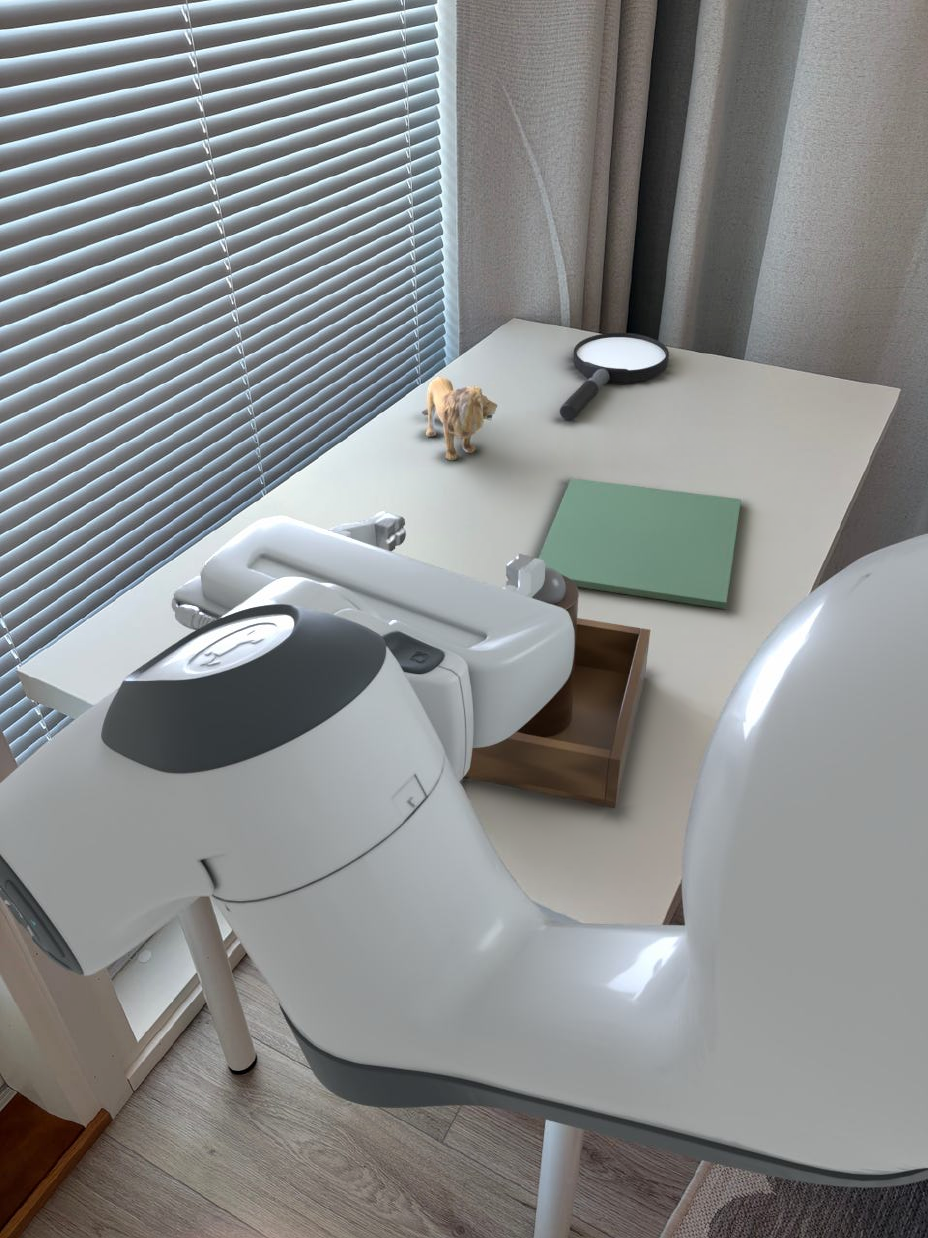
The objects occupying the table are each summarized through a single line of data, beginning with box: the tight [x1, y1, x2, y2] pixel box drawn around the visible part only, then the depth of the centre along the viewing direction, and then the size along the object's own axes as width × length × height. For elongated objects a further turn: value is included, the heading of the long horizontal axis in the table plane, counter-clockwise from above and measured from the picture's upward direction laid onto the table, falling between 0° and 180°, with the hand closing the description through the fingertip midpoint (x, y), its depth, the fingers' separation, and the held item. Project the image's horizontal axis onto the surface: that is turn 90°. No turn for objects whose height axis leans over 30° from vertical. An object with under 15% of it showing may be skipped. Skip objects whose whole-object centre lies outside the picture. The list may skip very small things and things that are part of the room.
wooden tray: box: [463, 617, 651, 808], centre depth 74 cm, size 15×15×5 cm
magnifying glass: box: [559, 332, 670, 421], centre depth 122 cm, size 12×24×2 cm, turn 152°
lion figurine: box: [421, 376, 498, 461], centre depth 109 cm, size 15×5×9 cm, turn 30°
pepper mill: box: [518, 567, 580, 737], centre depth 71 cm, size 5×5×14 cm
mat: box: [537, 477, 742, 610], centre depth 95 cm, size 18×18×1 cm
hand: (462, 545), depth 54 cm, fingers open, 8 cm apart
